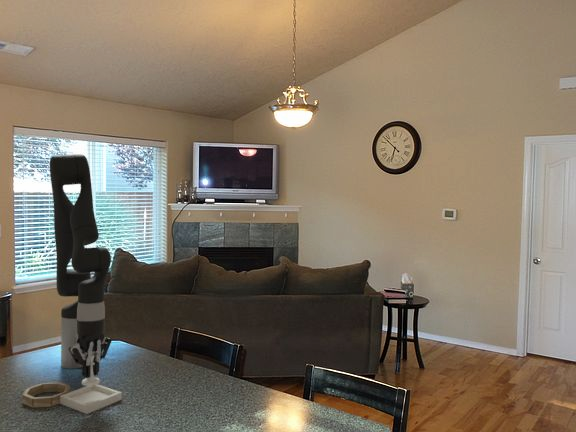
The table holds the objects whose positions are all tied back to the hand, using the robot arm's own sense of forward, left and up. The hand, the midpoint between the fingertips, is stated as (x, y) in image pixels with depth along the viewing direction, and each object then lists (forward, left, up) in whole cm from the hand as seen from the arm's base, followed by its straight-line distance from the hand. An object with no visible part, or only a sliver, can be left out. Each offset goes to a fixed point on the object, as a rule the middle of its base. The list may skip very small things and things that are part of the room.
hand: (90, 375), depth 154 cm
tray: (0, 0, -8) cm, 8 cm away
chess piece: (0, 0, -2) cm, 2 cm away
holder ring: (+6, -12, -8) cm, 15 cm away
